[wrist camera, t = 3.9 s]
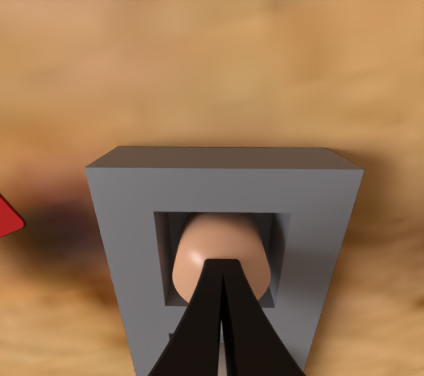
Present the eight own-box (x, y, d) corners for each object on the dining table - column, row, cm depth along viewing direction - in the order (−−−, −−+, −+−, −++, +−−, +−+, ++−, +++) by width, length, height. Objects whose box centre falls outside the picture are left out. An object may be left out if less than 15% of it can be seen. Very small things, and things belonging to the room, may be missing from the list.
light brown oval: (254, 263, 13) (265, 312, 10) (184, 263, 13) (175, 311, 10) (261, 201, 11) (276, 239, 8) (180, 200, 11) (168, 238, 8)
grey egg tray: (270, 403, 21) (278, 452, 18) (162, 401, 21) (154, 448, 18) (326, 148, 11) (364, 169, 8) (117, 146, 11) (84, 167, 8)
